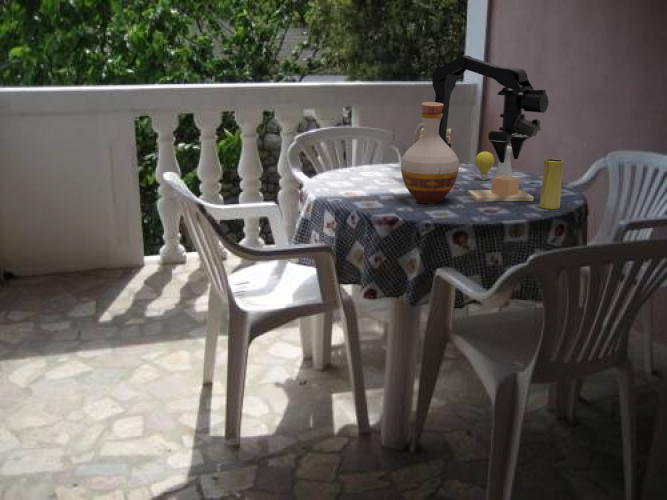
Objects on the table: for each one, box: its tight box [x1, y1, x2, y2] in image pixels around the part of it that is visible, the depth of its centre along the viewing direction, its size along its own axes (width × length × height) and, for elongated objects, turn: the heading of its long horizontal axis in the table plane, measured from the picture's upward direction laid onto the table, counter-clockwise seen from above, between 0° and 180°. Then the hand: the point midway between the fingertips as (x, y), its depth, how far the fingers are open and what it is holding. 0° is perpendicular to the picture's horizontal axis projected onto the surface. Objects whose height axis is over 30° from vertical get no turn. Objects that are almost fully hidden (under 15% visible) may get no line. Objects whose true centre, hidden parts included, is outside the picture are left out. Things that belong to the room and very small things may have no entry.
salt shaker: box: [494, 145, 513, 177], centre depth 247 cm, size 6×6×13 cm
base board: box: [467, 189, 534, 203], centre depth 227 cm, size 18×11×4 cm, turn 95°
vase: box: [538, 158, 564, 210], centre depth 213 cm, size 6×6×14 cm
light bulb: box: [474, 151, 495, 181], centre depth 254 cm, size 7×7×10 cm
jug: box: [400, 101, 460, 204], centre depth 219 cm, size 20×18×30 cm
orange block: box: [491, 175, 521, 196], centre depth 227 cm, size 6×6×5 cm
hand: (509, 160), depth 224 cm, fingers open, 9 cm apart
